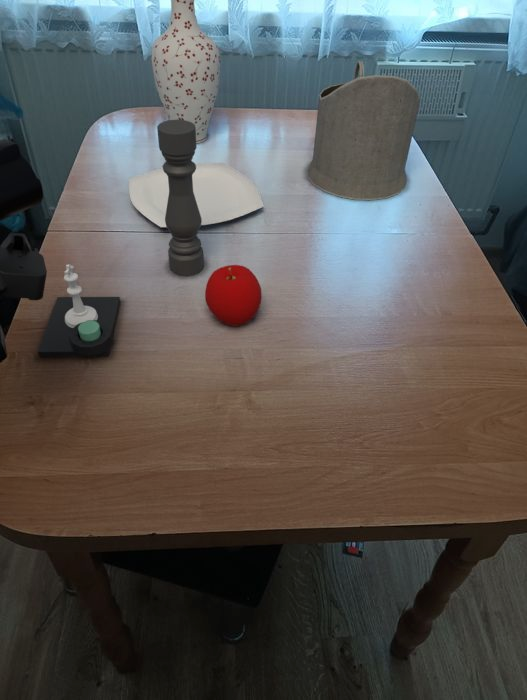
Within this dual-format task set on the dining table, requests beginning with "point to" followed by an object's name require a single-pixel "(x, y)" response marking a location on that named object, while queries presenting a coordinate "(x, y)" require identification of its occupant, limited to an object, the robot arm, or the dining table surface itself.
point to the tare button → (89, 330)
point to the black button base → (67, 339)
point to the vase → (186, 69)
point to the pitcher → (364, 136)
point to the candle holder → (181, 196)
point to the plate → (198, 194)
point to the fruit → (233, 294)
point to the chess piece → (77, 301)
